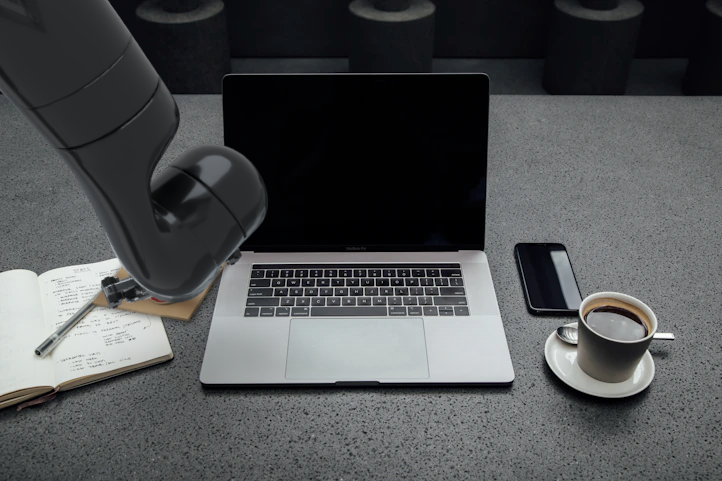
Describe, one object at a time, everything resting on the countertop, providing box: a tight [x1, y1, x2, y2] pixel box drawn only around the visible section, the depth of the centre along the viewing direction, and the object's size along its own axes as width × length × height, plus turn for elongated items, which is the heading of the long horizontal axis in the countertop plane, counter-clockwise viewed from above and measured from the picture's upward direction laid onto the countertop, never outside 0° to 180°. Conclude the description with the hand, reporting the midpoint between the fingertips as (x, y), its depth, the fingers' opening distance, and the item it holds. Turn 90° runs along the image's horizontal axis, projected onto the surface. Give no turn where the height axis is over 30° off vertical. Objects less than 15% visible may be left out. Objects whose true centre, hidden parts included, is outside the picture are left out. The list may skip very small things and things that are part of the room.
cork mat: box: [91, 262, 227, 322], centre depth 85 cm, size 20×14×1 cm
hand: (170, 279), depth 70 cm, fingers open, 8 cm apart
